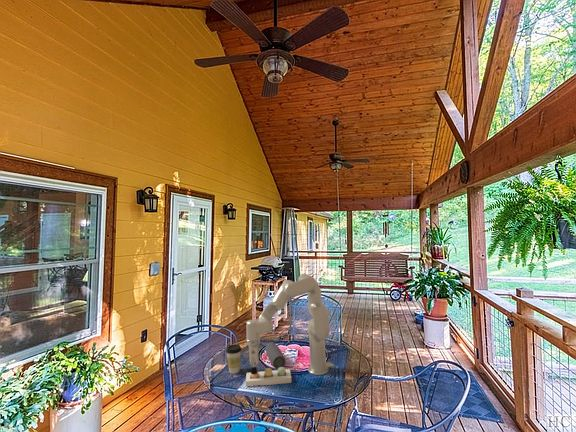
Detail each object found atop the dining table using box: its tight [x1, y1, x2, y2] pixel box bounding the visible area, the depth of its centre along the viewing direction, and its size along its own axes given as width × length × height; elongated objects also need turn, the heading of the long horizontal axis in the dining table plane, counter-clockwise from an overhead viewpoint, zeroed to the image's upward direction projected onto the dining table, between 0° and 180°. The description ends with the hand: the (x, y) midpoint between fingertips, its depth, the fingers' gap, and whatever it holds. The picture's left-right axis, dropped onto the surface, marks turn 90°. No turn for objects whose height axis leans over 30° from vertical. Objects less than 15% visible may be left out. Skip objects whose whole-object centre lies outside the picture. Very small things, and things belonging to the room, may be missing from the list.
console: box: [245, 368, 292, 387], centre depth 177 cm, size 26×10×3 cm, turn 95°
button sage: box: [277, 366, 286, 376], centre depth 178 cm, size 4×4×3 cm
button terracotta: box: [251, 371, 259, 379], centre depth 176 cm, size 4×4×3 cm
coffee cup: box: [225, 344, 243, 375], centre depth 190 cm, size 10×10×15 cm
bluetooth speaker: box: [265, 342, 287, 370], centre depth 198 cm, size 23×9×10 cm, turn 16°
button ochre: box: [263, 367, 273, 377], centre depth 177 cm, size 4×4×3 cm
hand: (254, 373), depth 176 cm, fingers closed
